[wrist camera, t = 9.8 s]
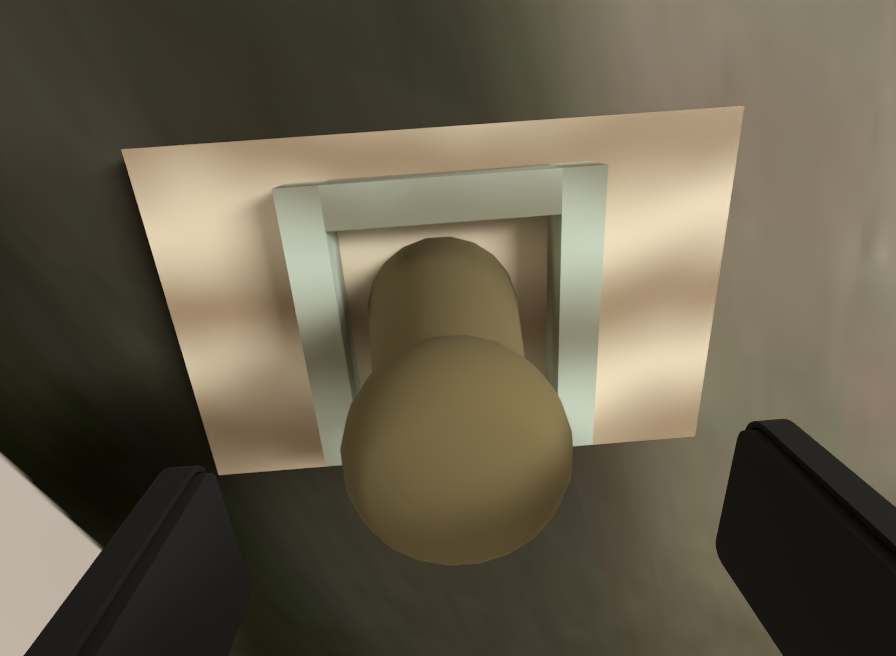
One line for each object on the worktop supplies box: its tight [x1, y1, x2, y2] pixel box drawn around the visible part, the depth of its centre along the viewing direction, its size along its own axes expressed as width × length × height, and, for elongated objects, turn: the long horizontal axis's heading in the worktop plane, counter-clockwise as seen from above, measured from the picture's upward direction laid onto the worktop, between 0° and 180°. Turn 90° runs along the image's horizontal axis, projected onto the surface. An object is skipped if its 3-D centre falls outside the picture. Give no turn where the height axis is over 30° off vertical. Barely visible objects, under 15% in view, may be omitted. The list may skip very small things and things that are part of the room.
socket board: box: [121, 106, 744, 475], centre depth 20 cm, size 14×22×4 cm, turn 94°
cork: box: [340, 236, 573, 566], centre depth 15 cm, size 6×6×11 cm
